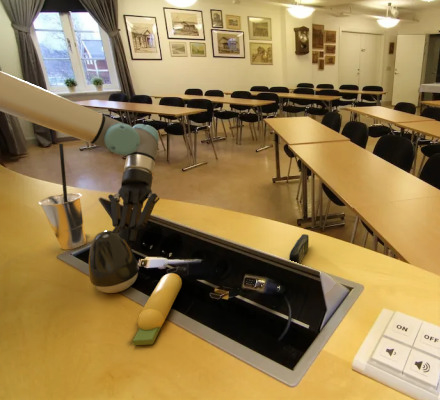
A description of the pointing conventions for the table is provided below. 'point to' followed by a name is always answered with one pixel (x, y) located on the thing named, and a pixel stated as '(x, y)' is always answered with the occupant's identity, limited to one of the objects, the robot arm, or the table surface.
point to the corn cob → (157, 309)
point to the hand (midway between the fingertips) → (124, 253)
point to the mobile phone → (299, 249)
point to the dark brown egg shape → (111, 262)
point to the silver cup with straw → (65, 214)
